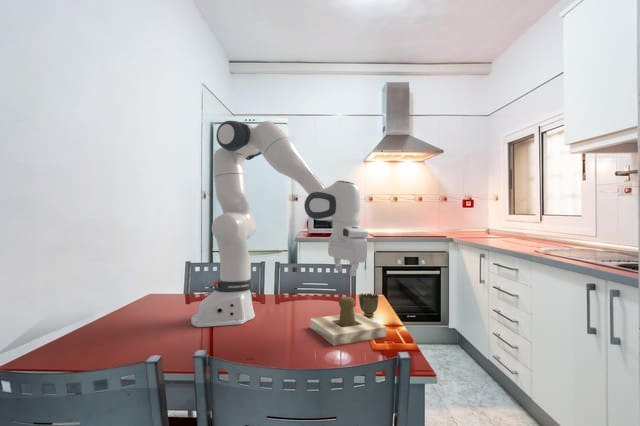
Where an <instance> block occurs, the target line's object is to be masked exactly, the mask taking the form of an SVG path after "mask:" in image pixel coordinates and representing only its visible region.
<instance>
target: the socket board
mask: <svg viewBox="0 0 640 426" xmlns="http://www.w3.org/2000/svg"><path fill="white" fill-rule="evenodd" d="M354 316H355V322H356V325H355V326H348V327H342V328H341V327H340V326H339V320H340V314H334V315H328V316H319V317H312V318H311V317H310V318H309V327H310V329H311V330H313V331H314V332H315V333H317V334H318V335H320V337H322V338H323V339H325V341H327V342H328V343H330V345H333V346H339V345H345V344H351V343H352V344H353V343H358V342H363V341H369V340H374V339H375V340H376V339H381V338H386V337H387V327H386V326H385V325H383V324H381V323H378V322H376V321H374V320H373V319H372V318H370V317H365V316H364V314H363V315H362V314H361V313H359V312H354Z"/></svg>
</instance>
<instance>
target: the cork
mask: <svg viewBox="0 0 640 426" xmlns="http://www.w3.org/2000/svg"><path fill="white" fill-rule="evenodd" d="M355 305H356V300H355V299H354V298H353V297H351V296H342V297H340V299H339V300H338V306H339V307H340V311H339V315H340V320H339V326H340V327H341V328H342V327H348V326H355V325H356V322H355V316H354V313H355V311H354V310H355V309H354V308H355Z"/></svg>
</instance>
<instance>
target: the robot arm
mask: <svg viewBox="0 0 640 426" xmlns="http://www.w3.org/2000/svg"><path fill="white" fill-rule="evenodd" d="M215 135H216V142H217V144H219V146H220V147H219V148H217V150H215V152H214V154H213V161H212V162H213V164H212V168H213V170H212V171H213V180H214V187H215V194H216V195H215V196H216V200H217V202H218V203H219V205H220V207H221V210H222V214H220V215H218V216H217V217H215V218H214V220H213V221H212V224H211V232H212V234H213V237H214V238H215V241H216V243H217V250H218V255H219V275H220V276H219V277H220V278H219V280H216V279H214V280H212V286H213V287H214V291H212V292H211V293H210V294H208V295H207V296H206V297H205V298H204V299H202V300H201V302H200V303H199V306H198V309H197V314H194V315H193V316H191V318H190V319H191V320H190V323H191V325H192V326H194V327H197V328H205V327H218V326H219V327H220V326H221V327H222V326H235V325H243V324H244V323H246V322H248V321H251V320H253V319H254V318H255V317H256V314H255V311H254V306H253V300H252V293H253V280H252V278H251V277H252V271H251V270H252V265H251V264H252V262H251V260H252V259H251V255H250V253H249V250H248V243H247V242H248V241H247V240H249V239H251V237H253V235H254V234H255V232H256V230H257V224H256V223H257V222H256V221H255V219H254V215H253V212H252V208H251V205H250V202H249V201H250V200H249V198H248V194H247V186H246V178H245V173H244V171H245V170H244V162H245V160H246V161H250V160H252V159H254V158H256V157H258V156H260V155H262V156H263V157H264V159H265V160H266V161H267V163H268V164H269V165H270V166H271V167H272V168H273V169H274V170H275V171H276V172H277V173H280V174H281V175H284V176H286V177H288V178H289V179H291V180H294V181H295V182H296V183H298V184H299V185H300V186H301V187H302V188H303V190H304V191H305V192H306V193H307V195H308V196H306V198H305V201H304V208H303V209H304V211H305V214H306V215H307V216H308V217H309V218H311V219H313V220H316V221H325V222H329V223H331V222H332V232H331V235H330V236H329V239H328V249H327V252H328V253H327V254H328V256H329V257H332V258H333V262H334V265H335V271H336V272H342V271H343V265H342V262H341V261H343V260H344V261H348V262H350V265H351V267H350V269H349V270H348V272H349V276H351V277H356V276H357V270H358V268H359V265H360V264H359V263H365V262H367V261H366V260H367V258H368V240H367V238H368V237H369V232H368V231H369V230H367V229H365V228H364V227H363V226H362V225H361V221H360V217H359V215H360V210H361V199H360V198H361V196H360V190H359V186H357V184H355V183H354V182H350V181H347V180H336V181H335V182H333V184H330V186H327V187H326V186H324V184H323V183H322V181H320V180H319V178H318V177H317V176H316V175H315V173H314V172H313V171H312V170H311V169H310V167H309V165H307V163H306V161H305V160H304V158H303V157H302V155H301V153H300V152H299V150H298V149H297V148H296V146H295V144H294V143H293V141H292V140H291V139H290V138H289V136H288V135H287V134H286V133H285V132H284V131H283V129H281V128H280V127H279V126H278V125H277V124H275V123H274V122H272V121H270V120H265V121H262V122H260V123H258V124H257V125H256V126H255V127H254V126H253V125H250V124H247V123H242V122H241V121H237V120H226V121H223V122H222V123H221V124H220V125H218V128H217V130H216V134H215Z"/></svg>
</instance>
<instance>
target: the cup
mask: <svg viewBox="0 0 640 426" xmlns="http://www.w3.org/2000/svg"><path fill="white" fill-rule="evenodd" d="M358 301H359V307H360V310H361V311H362V312H363V316H365V317H367V318H372V317H374V315H375V312H376V311H377V309H378V306H379V294H377V293H376V294H375V293H371V292H370V293H368V292H367V293H362V292H361V293H359V294H358Z"/></svg>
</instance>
